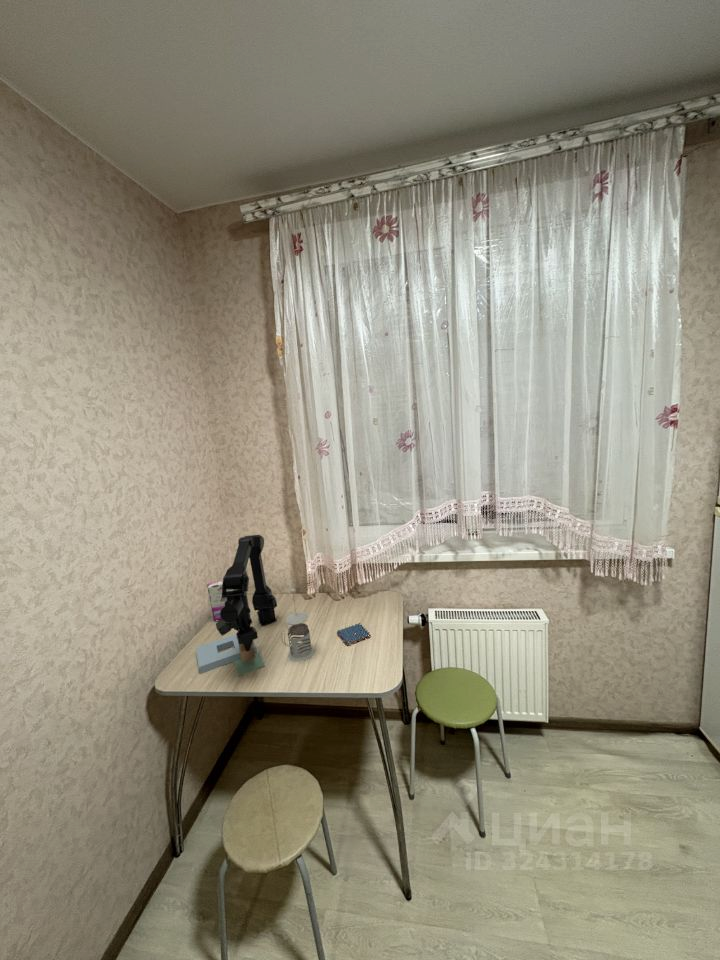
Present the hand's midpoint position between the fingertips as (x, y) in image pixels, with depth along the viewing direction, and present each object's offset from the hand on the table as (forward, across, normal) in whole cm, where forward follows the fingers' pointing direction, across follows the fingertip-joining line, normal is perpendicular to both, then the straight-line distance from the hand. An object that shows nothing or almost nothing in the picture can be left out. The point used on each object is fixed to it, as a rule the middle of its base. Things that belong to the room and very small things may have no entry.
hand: (246, 647), depth 134 cm
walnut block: (+4, 0, 0) cm, 4 cm away
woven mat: (+7, +6, +38) cm, 40 cm away
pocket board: (+6, -12, -6) cm, 15 cm away
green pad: (+6, 0, 0) cm, 7 cm away
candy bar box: (+7, -42, -2) cm, 42 cm away
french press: (+7, +5, +17) cm, 19 cm away
